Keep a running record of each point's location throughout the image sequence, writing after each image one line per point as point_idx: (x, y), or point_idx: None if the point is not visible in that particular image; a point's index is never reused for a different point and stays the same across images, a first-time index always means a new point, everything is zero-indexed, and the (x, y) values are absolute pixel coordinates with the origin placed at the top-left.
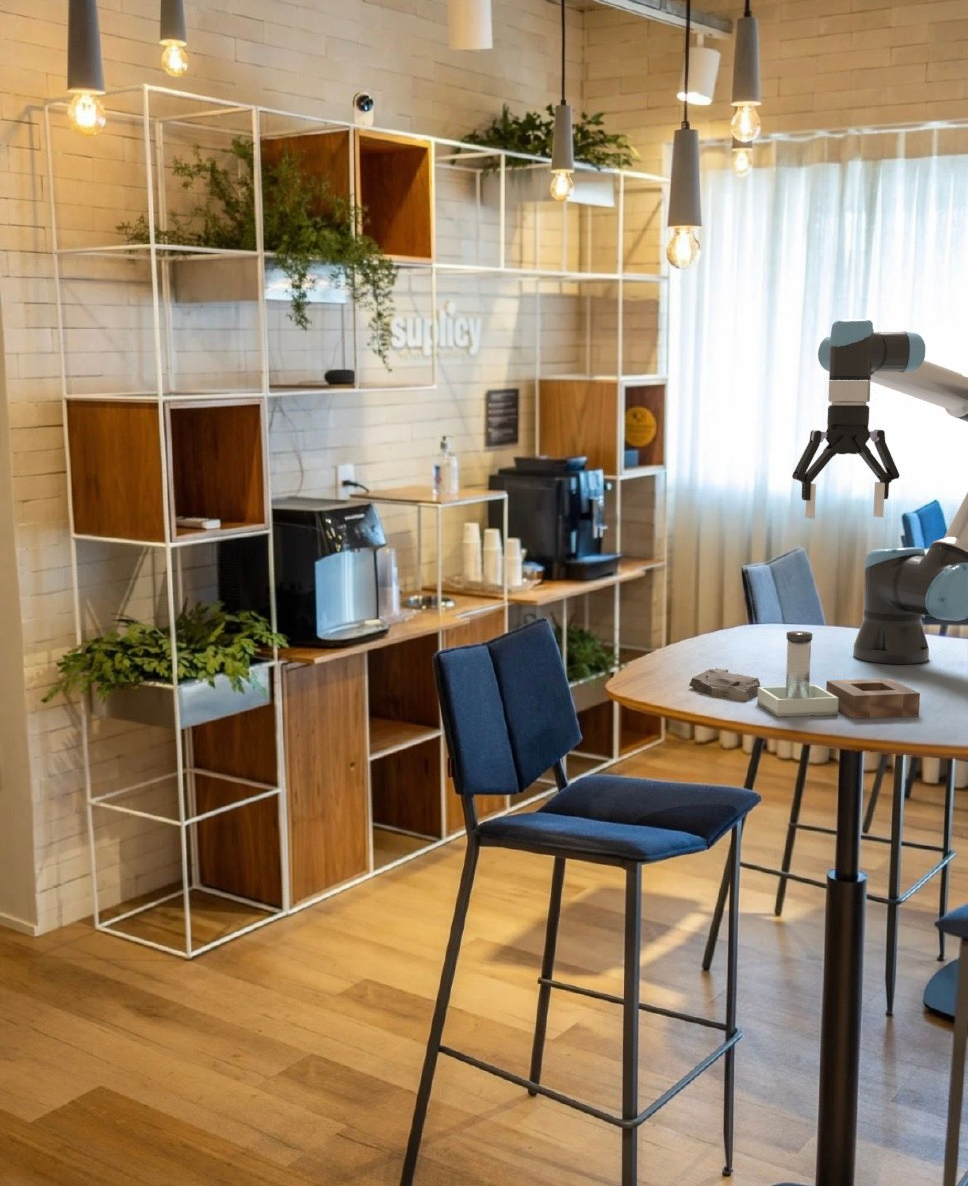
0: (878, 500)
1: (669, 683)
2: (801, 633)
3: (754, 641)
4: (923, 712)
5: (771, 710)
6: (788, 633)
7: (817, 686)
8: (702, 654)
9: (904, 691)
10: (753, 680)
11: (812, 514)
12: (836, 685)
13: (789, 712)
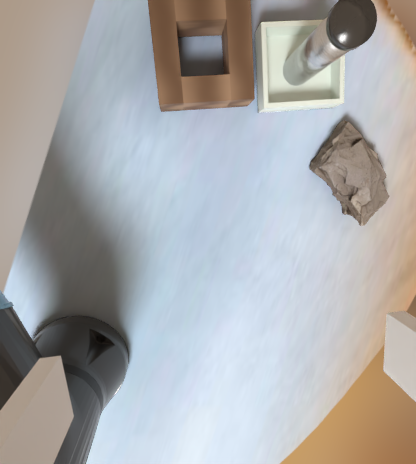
0: (18, 454)
1: (394, 225)
2: (350, 19)
3: (225, 445)
4: (137, 33)
5: None
6: (373, 22)
7: (265, 99)
8: (308, 376)
9: (166, 8)
10: (331, 155)
11: (412, 321)
12: (251, 63)
13: None
